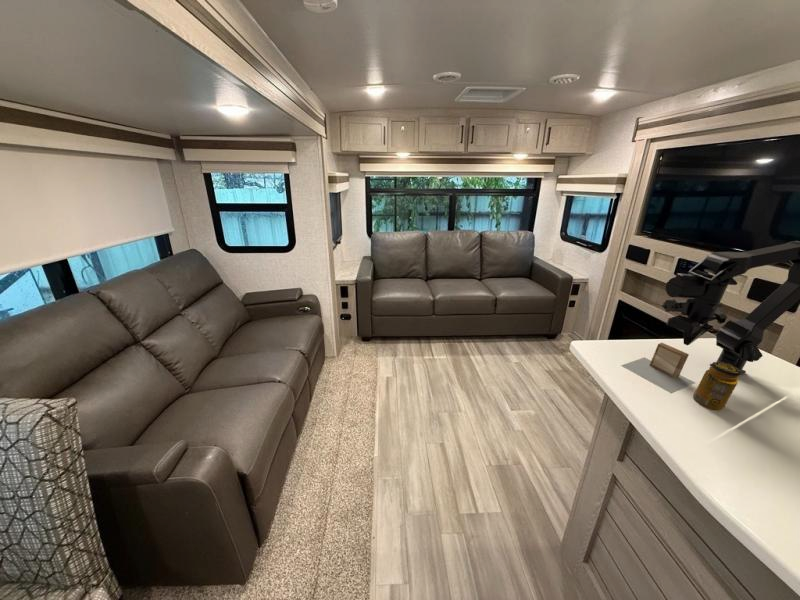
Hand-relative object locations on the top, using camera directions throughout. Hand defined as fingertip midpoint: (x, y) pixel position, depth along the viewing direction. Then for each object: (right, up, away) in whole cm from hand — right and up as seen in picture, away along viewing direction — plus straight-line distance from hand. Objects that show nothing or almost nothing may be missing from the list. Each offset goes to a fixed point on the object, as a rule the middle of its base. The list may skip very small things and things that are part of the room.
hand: (686, 344), depth 94 cm
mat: (-9, -9, 0) cm, 13 cm away
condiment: (-6, -15, -12) cm, 20 cm away
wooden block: (-6, -8, +1) cm, 10 cm away
